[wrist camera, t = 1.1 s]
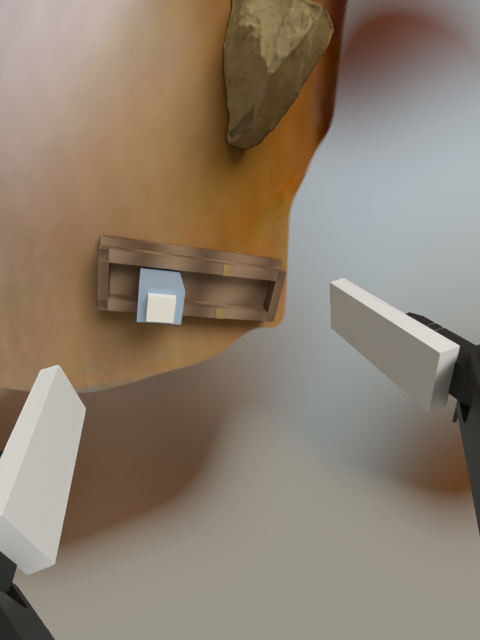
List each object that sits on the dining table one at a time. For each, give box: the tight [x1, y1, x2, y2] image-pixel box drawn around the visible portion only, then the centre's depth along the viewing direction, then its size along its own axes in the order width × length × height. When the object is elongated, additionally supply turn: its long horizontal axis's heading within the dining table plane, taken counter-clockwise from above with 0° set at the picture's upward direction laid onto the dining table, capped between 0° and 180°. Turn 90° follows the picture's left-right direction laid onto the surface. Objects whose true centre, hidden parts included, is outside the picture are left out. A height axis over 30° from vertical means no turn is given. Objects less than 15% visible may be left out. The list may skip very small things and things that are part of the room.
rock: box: [223, 0, 334, 149], centre depth 26 cm, size 11×9×10 cm
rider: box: [137, 266, 185, 325], centre depth 31 cm, size 4×3×8 cm
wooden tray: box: [97, 235, 286, 322], centre depth 35 cm, size 20×8×3 cm, turn 79°
